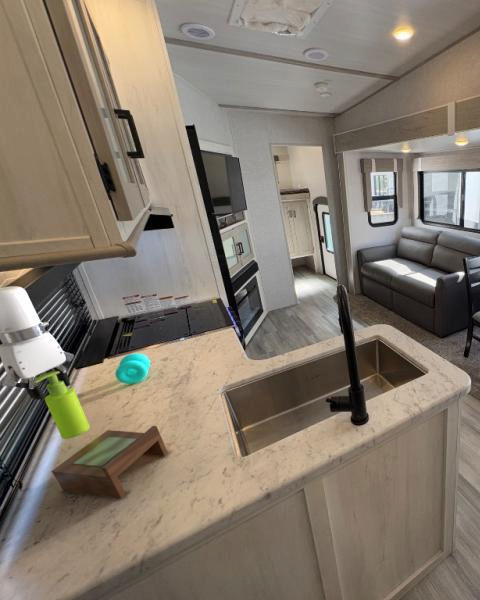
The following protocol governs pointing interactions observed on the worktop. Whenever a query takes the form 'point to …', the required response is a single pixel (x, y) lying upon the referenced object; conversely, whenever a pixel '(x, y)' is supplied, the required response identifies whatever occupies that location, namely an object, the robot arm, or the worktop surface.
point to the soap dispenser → (64, 407)
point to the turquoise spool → (132, 368)
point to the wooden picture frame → (107, 462)
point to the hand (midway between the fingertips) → (52, 391)
